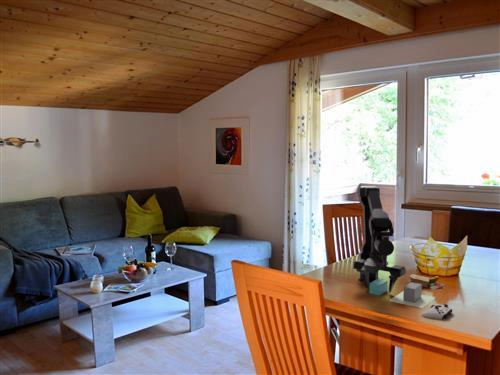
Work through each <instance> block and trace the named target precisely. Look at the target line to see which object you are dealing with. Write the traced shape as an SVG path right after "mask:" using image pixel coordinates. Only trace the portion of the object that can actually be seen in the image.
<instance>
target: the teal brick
mask: <svg viewBox="0 0 500 375" xmlns="http://www.w3.org/2000/svg"><path fill="white" fill-rule="evenodd" d="M386 292H388V280H384V279H380V278H379V279H376V280H375V281H373V282H369V294H371V295H375V296H381V295H383V294H384V293H386Z"/></svg>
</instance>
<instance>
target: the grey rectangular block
mask: <svg viewBox="0 0 500 375" xmlns="http://www.w3.org/2000/svg"><path fill="white" fill-rule="evenodd" d="M403 291H404V294H403V301H408V302H413V303H415V302H416V301H418V300H419V299H420V298H421V295H422V293H423V292H422V291H423V288H422V284H417V283H412V282H411V283H409V284H406V285H405V286H403Z"/></svg>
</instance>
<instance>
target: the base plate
mask: <svg viewBox="0 0 500 375" xmlns="http://www.w3.org/2000/svg"><path fill="white" fill-rule="evenodd" d="M403 294H404V290H403V291H401V292H400V293H399V294H397V295H395V296H394V297H392V298H390V299H389V300H388V301H389V302H393V303H397V304H402V305H406V306H409V307H416V308H419V309H424V308H425V307H426V306H427V305H428V304H430V303H431V302H432V301H433V300H435V299H436V296H430V295H427V294H426V295H425V294H421V298H420V299H419V300H418V301H416V302H415V303H413V302H408V301H403Z"/></svg>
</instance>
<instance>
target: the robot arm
mask: <svg viewBox="0 0 500 375" xmlns="http://www.w3.org/2000/svg"><path fill="white" fill-rule="evenodd" d="M380 191H381V189H380V187H377V186H376V185H375V186H371V185H370V186H369V185H368V186H365V185H364V186H363V185H362V186H360V187H359V188H357V191H356V193H357V194H356V195H357V197H358V203H359V204H360V205H361V207H362V214H363V215H362V216H363V220H362V221H363V244H362V245H361V247H360V248H359V249H360V251H359V253H358V256H357V260H355V261H354V262H353V264H352V267H353V268H352V269H354V270H356V272H358V273H359V278H358V281H362V282H363V283H364V286H365V288H369V286H370V283H371V282H373V281H375V280H376V279H380V278H379V271H383V272H387V273H388V272H389V275H388V278H389V281H388V284H389V285H388V292H389V293H392V291H393V288H394V286H395V284H396V282H397V280H398V279H399V278H401V277H402V276H404V275H406V271H407V270H406V267H405V266H403V265H398V264H395V265H393V266H392V265H391V266H388V265H389V261H388V256H391V255H392V254H393V253H394V251H395V245H394V242H392V241H391V240H390V237H394V233H395V229H394V225H393V222H392V220H391V219H390V217H389V213H387V212H386V211H384V208H383V204H382V201H381V192H380Z"/></svg>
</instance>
